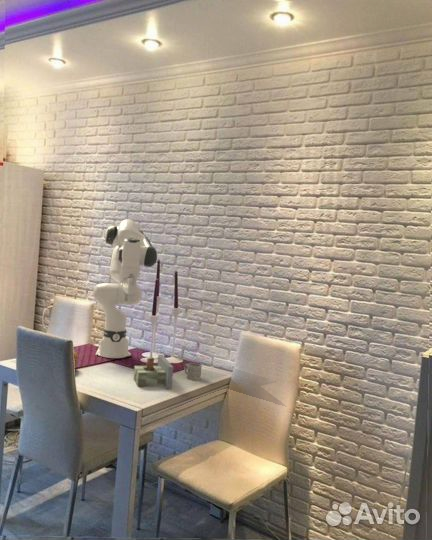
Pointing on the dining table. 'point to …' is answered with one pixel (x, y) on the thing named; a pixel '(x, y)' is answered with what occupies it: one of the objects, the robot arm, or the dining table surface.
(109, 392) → the dining table surface
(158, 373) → the socket block
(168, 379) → the wall
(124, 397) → the dining table surface
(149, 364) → the dowel
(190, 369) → the mug
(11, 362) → the dining table surface
